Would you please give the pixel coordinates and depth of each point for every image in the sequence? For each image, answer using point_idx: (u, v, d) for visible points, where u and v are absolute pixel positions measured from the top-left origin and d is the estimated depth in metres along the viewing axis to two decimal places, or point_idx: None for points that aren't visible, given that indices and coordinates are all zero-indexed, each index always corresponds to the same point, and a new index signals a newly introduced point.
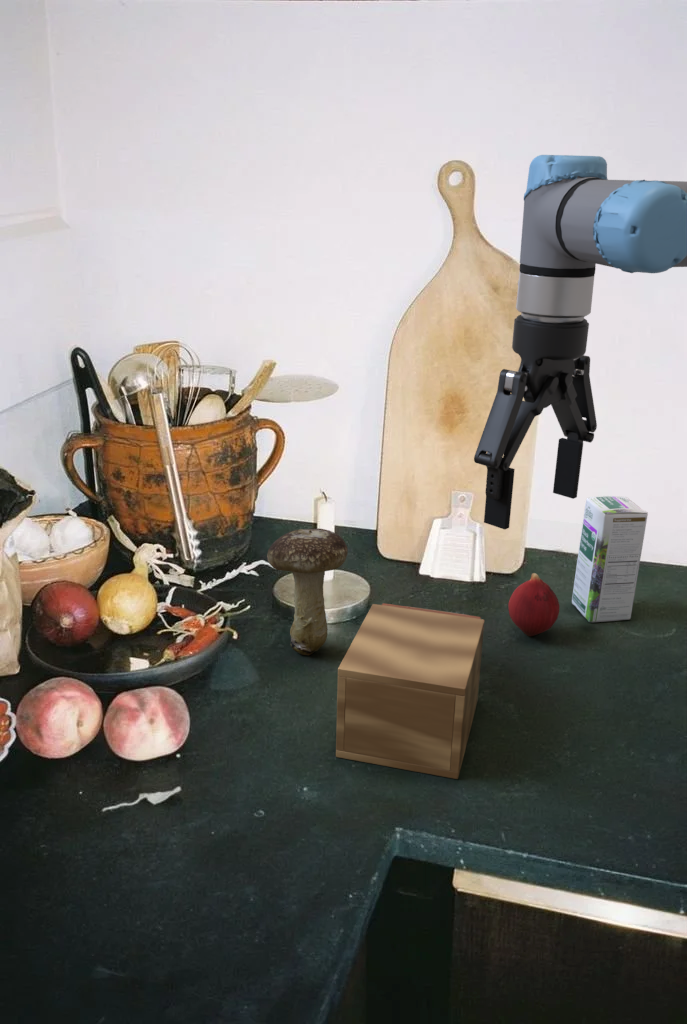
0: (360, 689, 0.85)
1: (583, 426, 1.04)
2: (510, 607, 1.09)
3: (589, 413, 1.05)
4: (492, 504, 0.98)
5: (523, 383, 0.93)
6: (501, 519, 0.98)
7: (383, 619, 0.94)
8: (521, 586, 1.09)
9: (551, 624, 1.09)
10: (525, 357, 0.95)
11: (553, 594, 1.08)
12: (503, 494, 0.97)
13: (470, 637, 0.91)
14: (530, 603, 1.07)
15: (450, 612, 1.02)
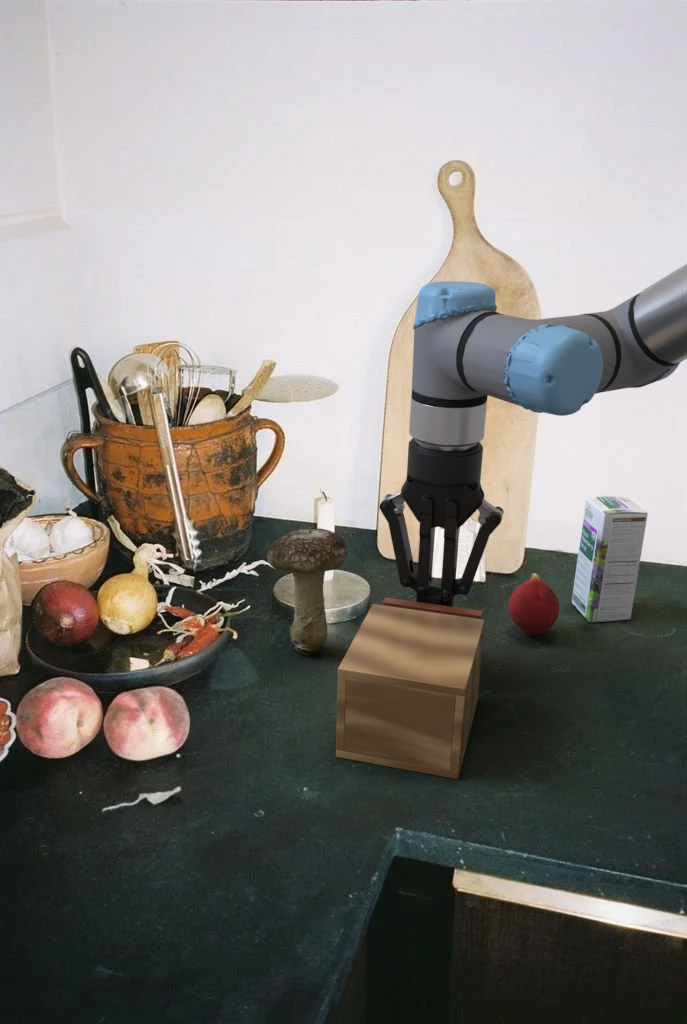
0: (360, 689, 0.85)
1: (449, 580, 0.98)
2: (510, 607, 1.09)
3: (466, 569, 0.97)
4: None
5: (388, 510, 0.97)
6: None
7: (383, 619, 0.94)
8: (521, 586, 1.09)
9: (551, 624, 1.09)
10: None
11: (553, 594, 1.08)
12: None
13: (470, 637, 0.91)
14: (530, 603, 1.07)
15: None
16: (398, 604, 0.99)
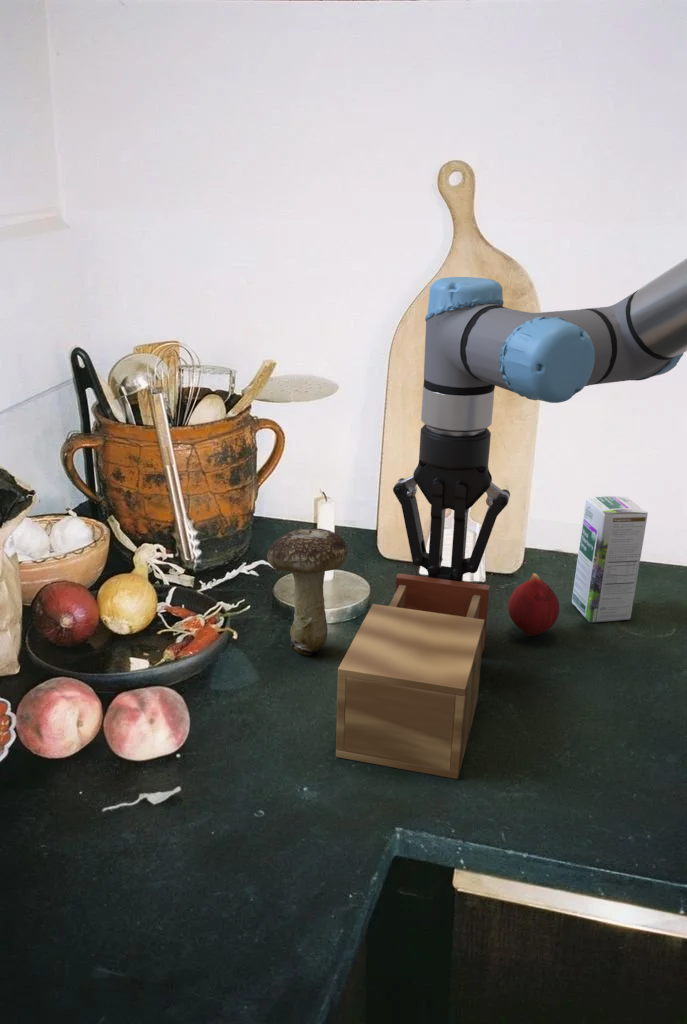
0: (360, 689, 0.85)
1: (458, 559, 1.04)
2: (510, 607, 1.09)
3: (475, 549, 1.03)
4: None
5: (401, 493, 1.03)
6: None
7: (383, 619, 0.94)
8: (521, 586, 1.09)
9: (551, 624, 1.09)
10: None
11: (553, 594, 1.08)
12: None
13: (470, 637, 0.91)
14: (530, 603, 1.07)
15: None
16: (410, 579, 1.05)
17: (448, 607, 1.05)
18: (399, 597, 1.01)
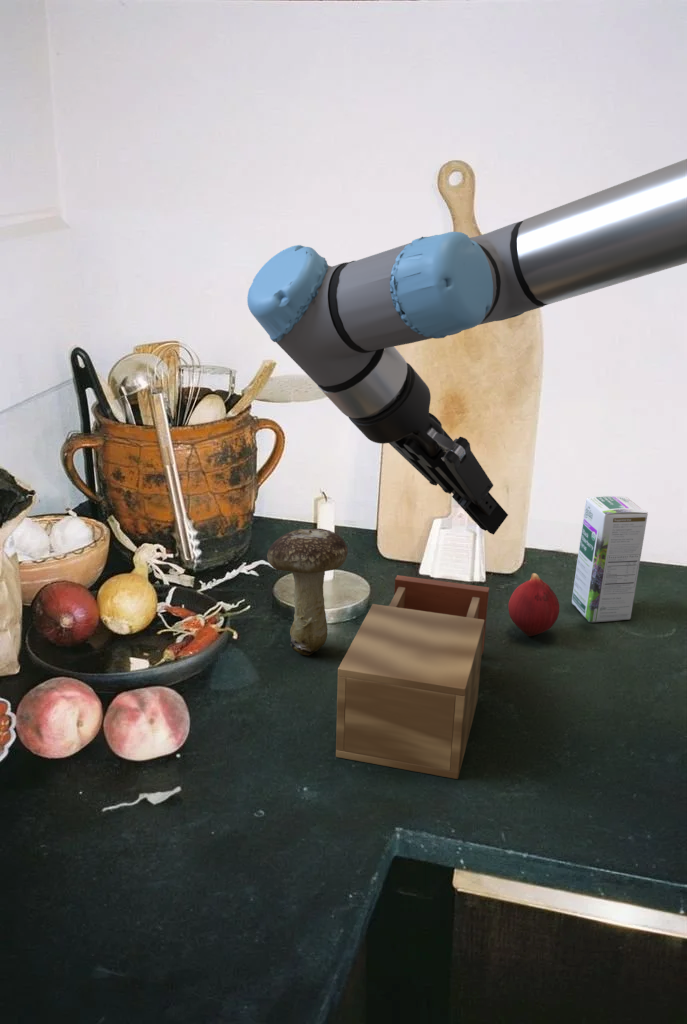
0: (360, 689, 0.85)
1: (459, 491, 0.94)
2: (510, 607, 1.09)
3: (463, 488, 0.92)
4: None
5: None
6: None
7: (383, 619, 0.94)
8: (521, 586, 1.09)
9: (551, 624, 1.09)
10: None
11: (553, 594, 1.08)
12: None
13: (470, 637, 0.91)
14: (530, 603, 1.07)
15: None
16: (409, 581, 1.04)
17: (447, 609, 1.04)
18: (398, 599, 1.00)
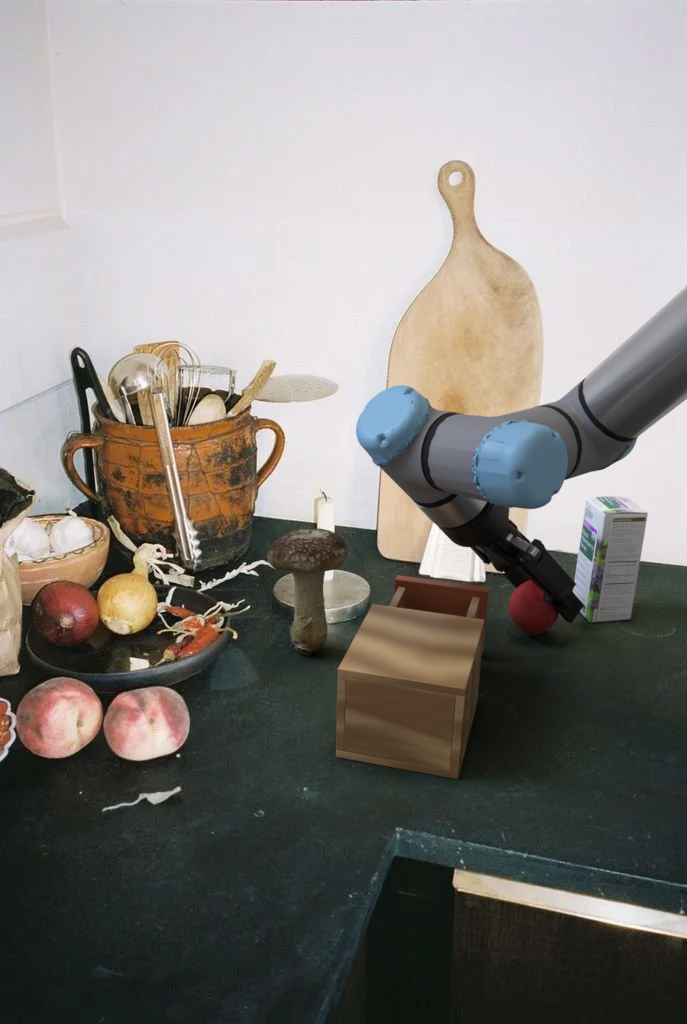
0: (360, 689, 0.85)
1: (542, 588, 1.03)
2: (510, 607, 1.09)
3: (546, 586, 1.01)
4: None
5: None
6: None
7: (383, 619, 0.94)
8: (521, 586, 1.09)
9: (552, 624, 1.09)
10: None
11: None
12: None
13: (470, 637, 0.91)
14: (530, 603, 1.07)
15: None
16: (409, 581, 1.04)
17: (447, 609, 1.04)
18: (398, 599, 1.00)
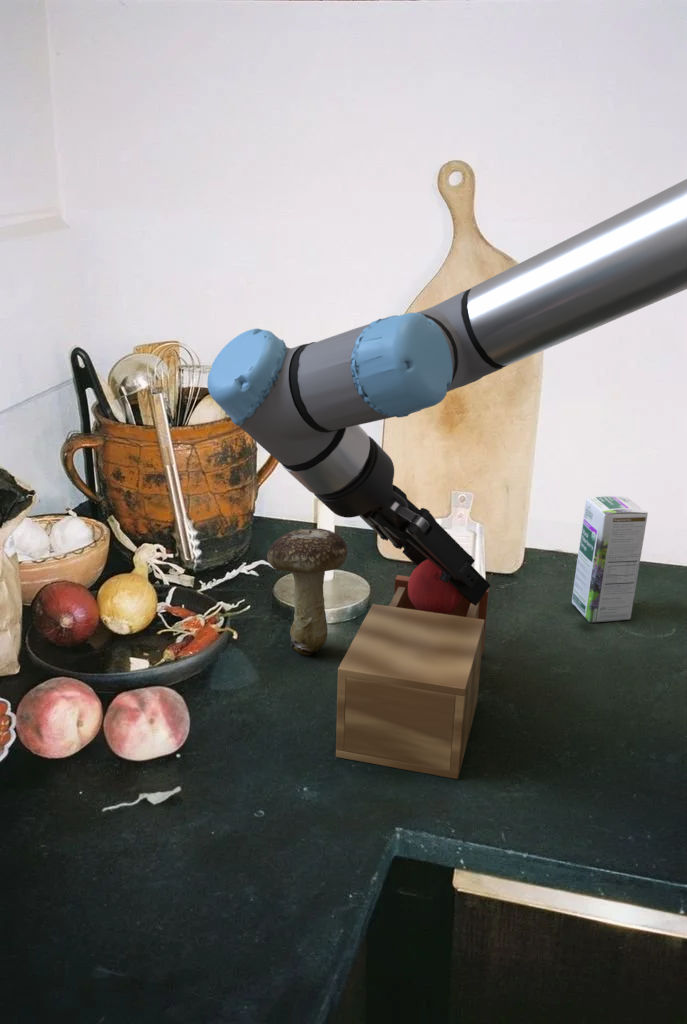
0: (360, 689, 0.85)
1: (438, 565, 0.93)
2: (408, 587, 0.98)
3: (440, 563, 0.91)
4: None
5: None
6: None
7: (383, 619, 0.94)
8: (421, 564, 0.98)
9: (454, 606, 0.98)
10: None
11: None
12: None
13: (470, 637, 0.91)
14: (428, 583, 0.96)
15: None
16: None
17: None
18: (398, 599, 1.00)
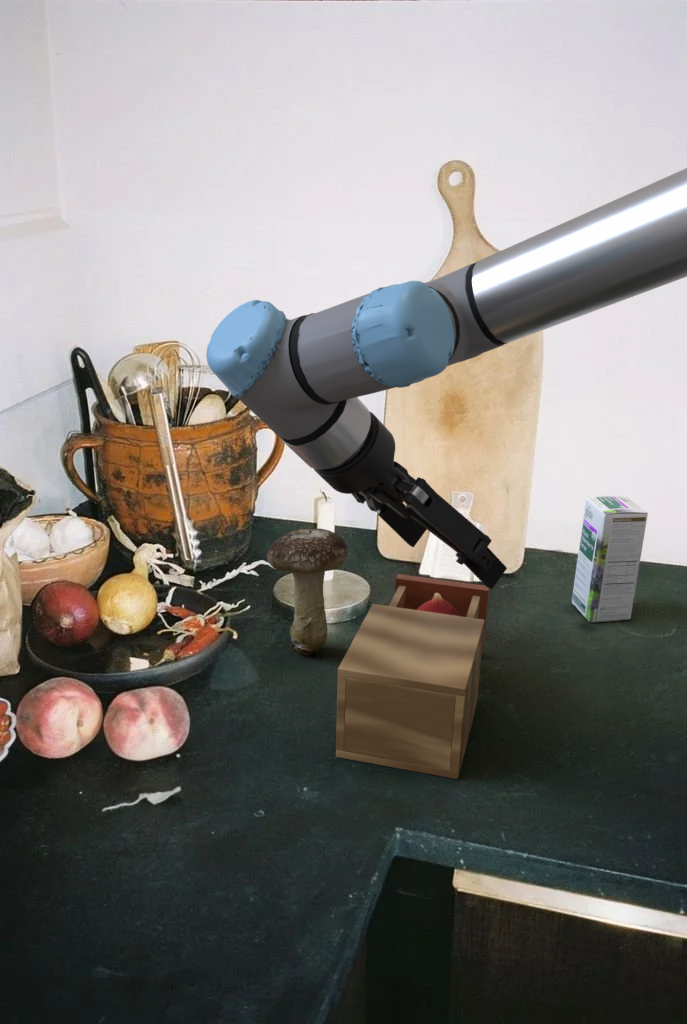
0: (360, 689, 0.85)
1: (450, 545, 0.89)
2: None
3: (452, 542, 0.87)
4: None
5: None
6: None
7: (383, 619, 0.94)
8: (422, 606, 0.99)
9: None
10: None
11: None
12: None
13: (470, 637, 0.91)
14: None
15: None
16: (410, 580, 1.05)
17: None
18: (399, 598, 1.01)
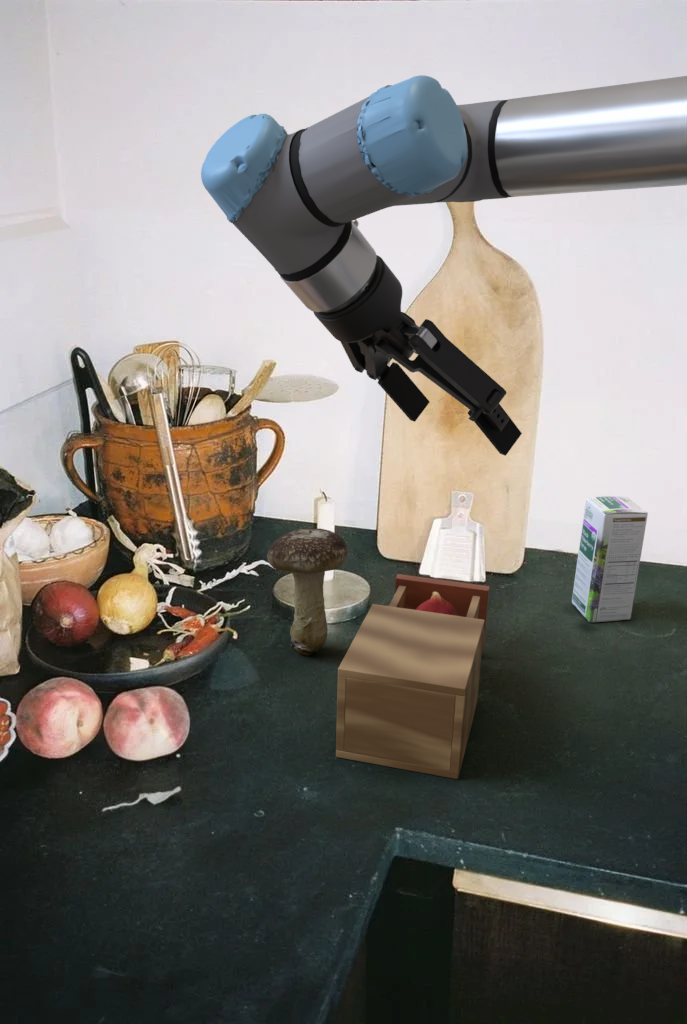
0: (360, 689, 0.85)
1: (461, 400, 0.83)
2: None
3: (463, 394, 0.82)
4: None
5: None
6: None
7: (383, 619, 0.94)
8: (421, 606, 0.99)
9: None
10: None
11: (456, 614, 0.99)
12: None
13: (470, 637, 0.91)
14: None
15: None
16: (410, 580, 1.05)
17: None
18: (399, 598, 1.01)
